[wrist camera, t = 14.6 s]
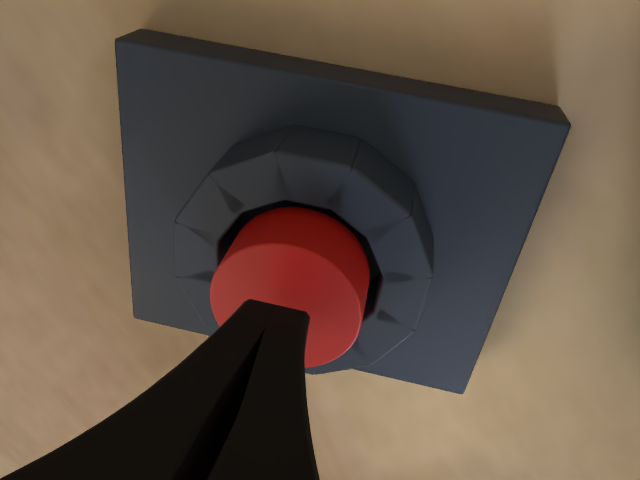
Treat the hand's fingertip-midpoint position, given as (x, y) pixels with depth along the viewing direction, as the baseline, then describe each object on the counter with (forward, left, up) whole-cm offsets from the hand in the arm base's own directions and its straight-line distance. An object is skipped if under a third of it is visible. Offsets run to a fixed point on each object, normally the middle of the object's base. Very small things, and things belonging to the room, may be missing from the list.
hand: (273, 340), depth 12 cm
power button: (0, 0, -3) cm, 3 cm away
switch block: (0, 0, -6) cm, 6 cm away
